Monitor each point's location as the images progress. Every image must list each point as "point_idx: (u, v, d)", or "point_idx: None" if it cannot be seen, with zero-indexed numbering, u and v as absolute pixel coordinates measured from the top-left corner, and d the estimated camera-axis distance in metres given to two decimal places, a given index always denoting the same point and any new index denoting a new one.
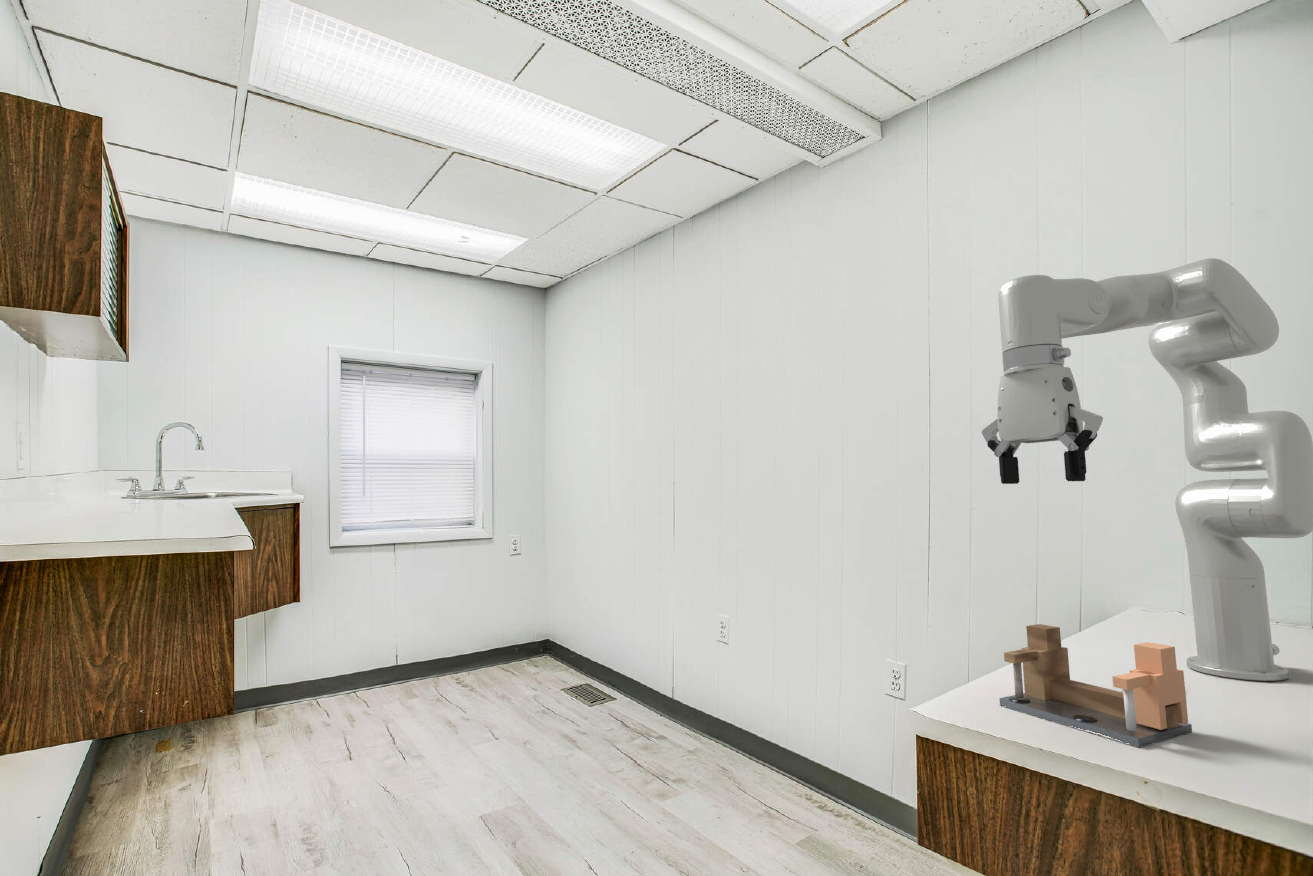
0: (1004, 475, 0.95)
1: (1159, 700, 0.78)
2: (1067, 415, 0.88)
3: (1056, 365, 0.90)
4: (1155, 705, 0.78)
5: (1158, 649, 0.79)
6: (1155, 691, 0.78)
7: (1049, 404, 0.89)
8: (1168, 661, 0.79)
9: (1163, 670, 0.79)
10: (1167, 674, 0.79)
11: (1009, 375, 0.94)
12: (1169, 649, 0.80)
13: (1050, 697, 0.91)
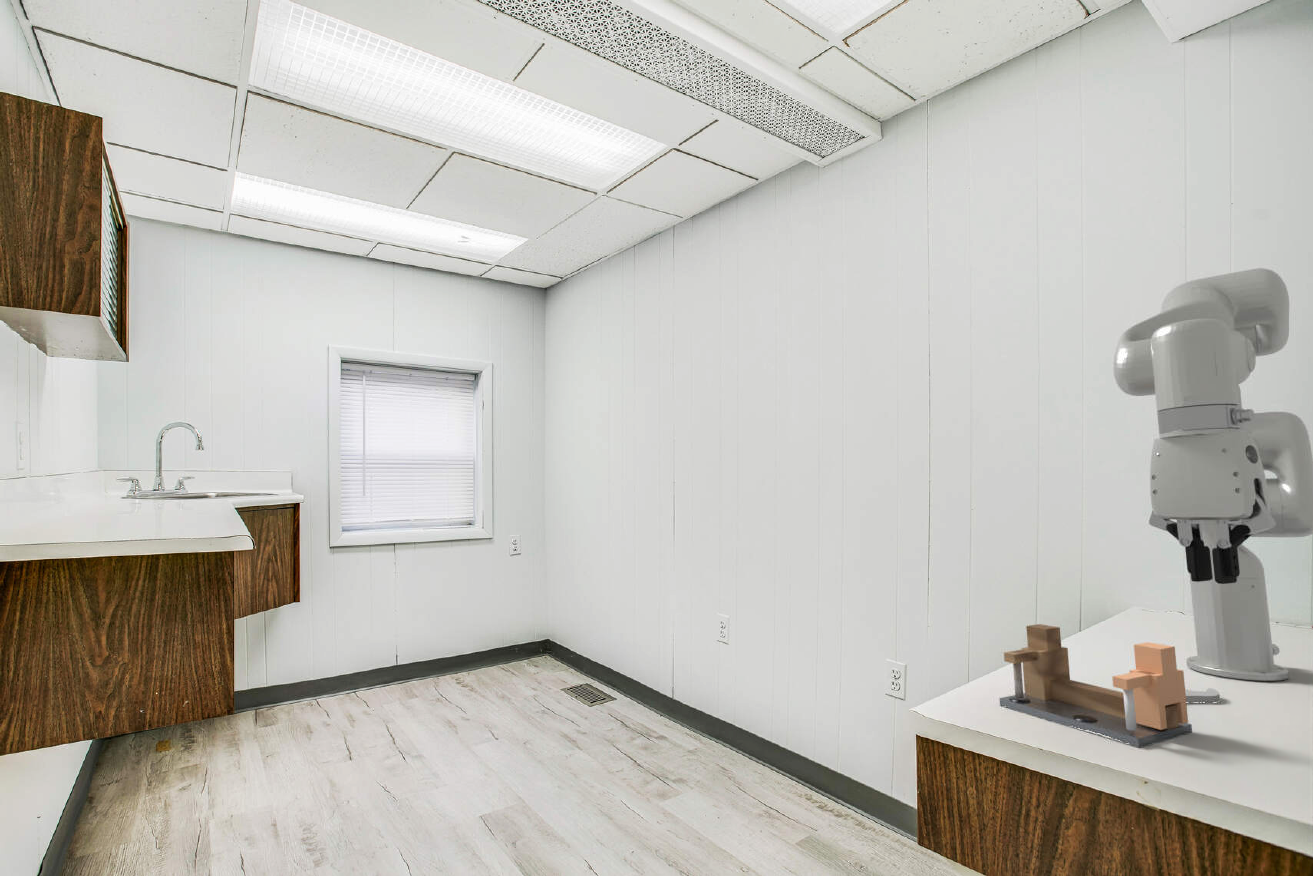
0: (1196, 571, 0.76)
1: (1159, 700, 0.78)
2: (1254, 493, 0.72)
3: (1235, 430, 0.74)
4: (1155, 705, 0.78)
5: (1158, 649, 0.79)
6: (1155, 691, 0.78)
7: (1229, 478, 0.73)
8: (1168, 661, 0.79)
9: (1163, 670, 0.79)
10: (1167, 674, 0.79)
11: (1168, 438, 0.78)
12: (1169, 649, 0.80)
13: (1050, 697, 0.91)
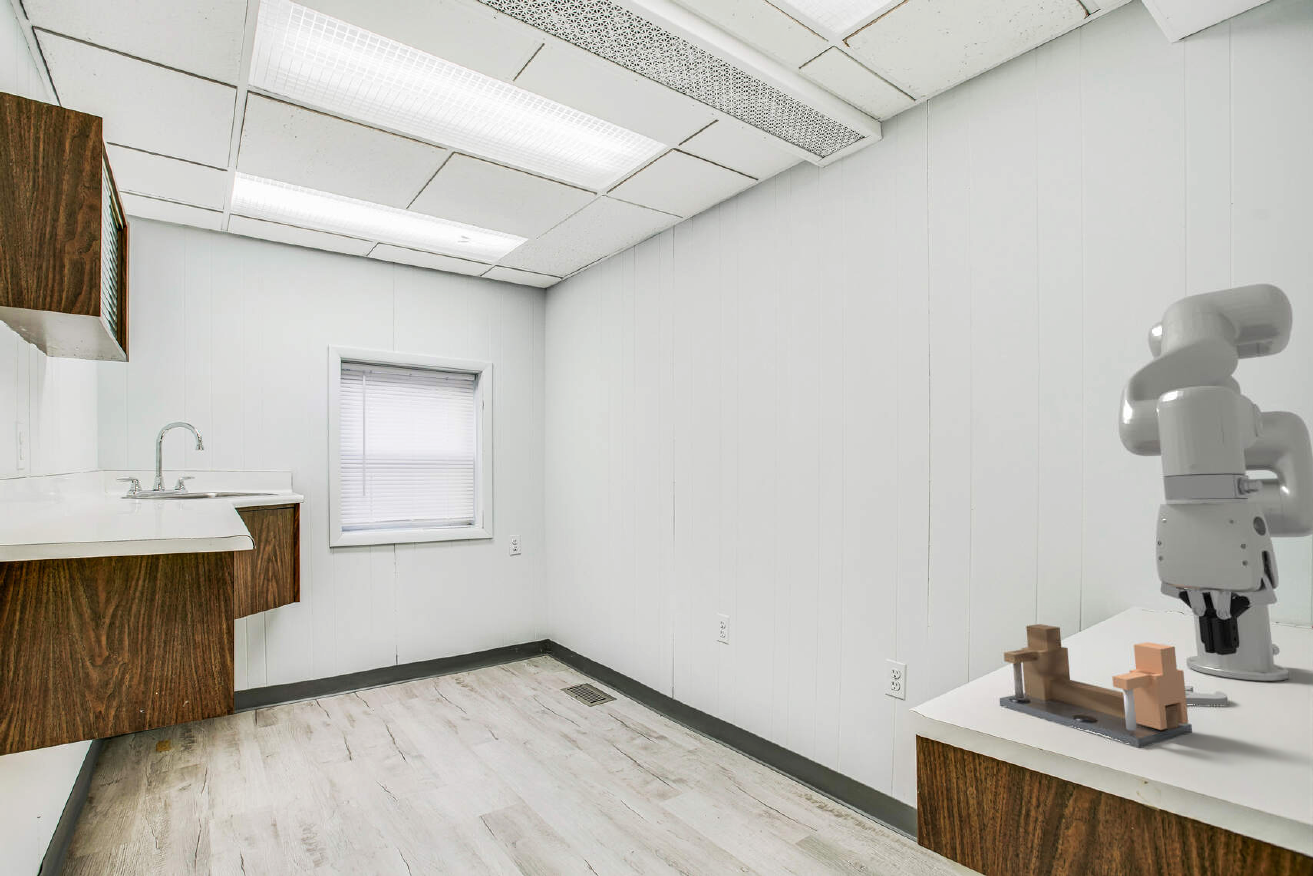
0: (1210, 643, 0.74)
1: (1159, 700, 0.78)
2: (1262, 566, 0.71)
3: (1242, 500, 0.73)
4: (1155, 705, 0.78)
5: (1158, 649, 0.79)
6: (1155, 691, 0.78)
7: (1237, 550, 0.72)
8: (1168, 661, 0.79)
9: (1163, 670, 0.79)
10: (1167, 674, 0.79)
11: (1175, 505, 0.77)
12: (1169, 649, 0.80)
13: (1050, 697, 0.91)
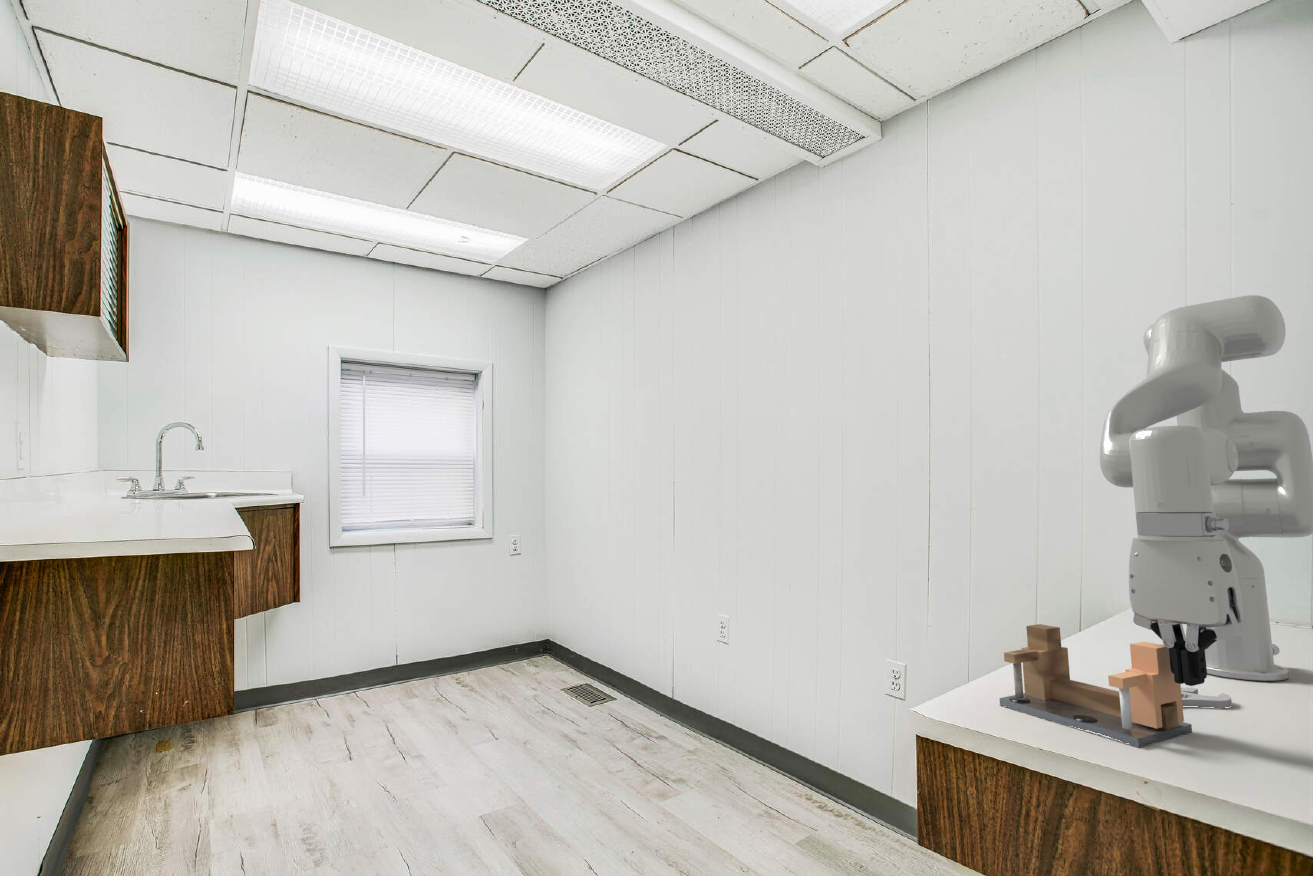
0: (1179, 674, 0.77)
1: (1155, 699, 0.78)
2: (1228, 602, 0.73)
3: (1210, 538, 0.76)
4: (1151, 704, 0.78)
5: (1154, 648, 0.80)
6: (1150, 690, 0.79)
7: (1204, 587, 0.75)
8: (1164, 660, 0.80)
9: (1158, 669, 0.79)
10: (1163, 673, 0.79)
11: (1146, 540, 0.80)
12: (1165, 649, 0.80)
13: (1050, 697, 0.91)
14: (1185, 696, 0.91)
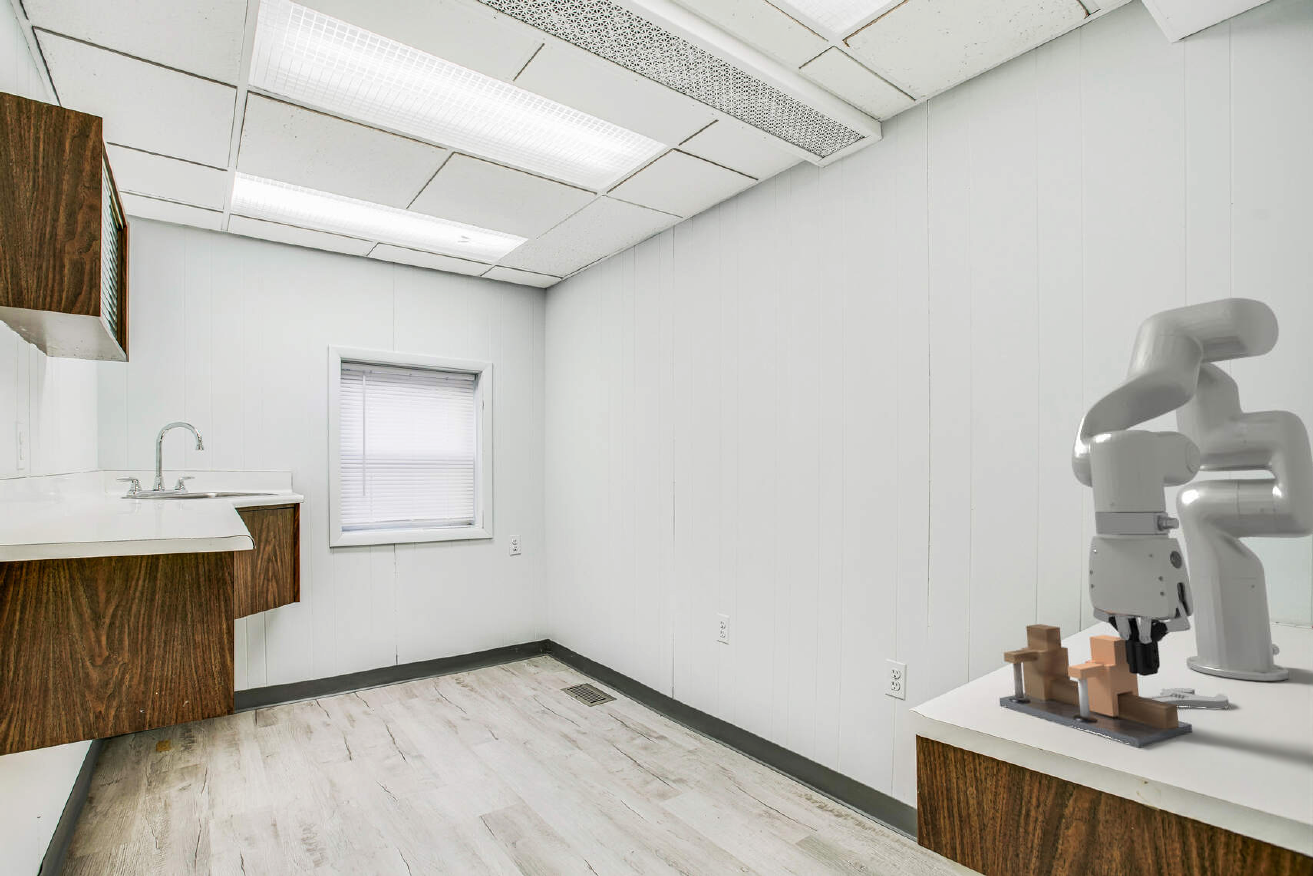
0: (1134, 664, 0.82)
1: (1111, 689, 0.83)
2: (1177, 597, 0.78)
3: (1162, 536, 0.80)
4: (1108, 693, 0.83)
5: (1111, 641, 0.84)
6: (1107, 680, 0.83)
7: (1155, 582, 0.79)
8: (1121, 652, 0.84)
9: (1115, 661, 0.84)
10: (1120, 665, 0.84)
11: (1104, 538, 0.84)
12: (1122, 641, 0.85)
13: (1050, 697, 0.91)
14: (1182, 696, 0.91)
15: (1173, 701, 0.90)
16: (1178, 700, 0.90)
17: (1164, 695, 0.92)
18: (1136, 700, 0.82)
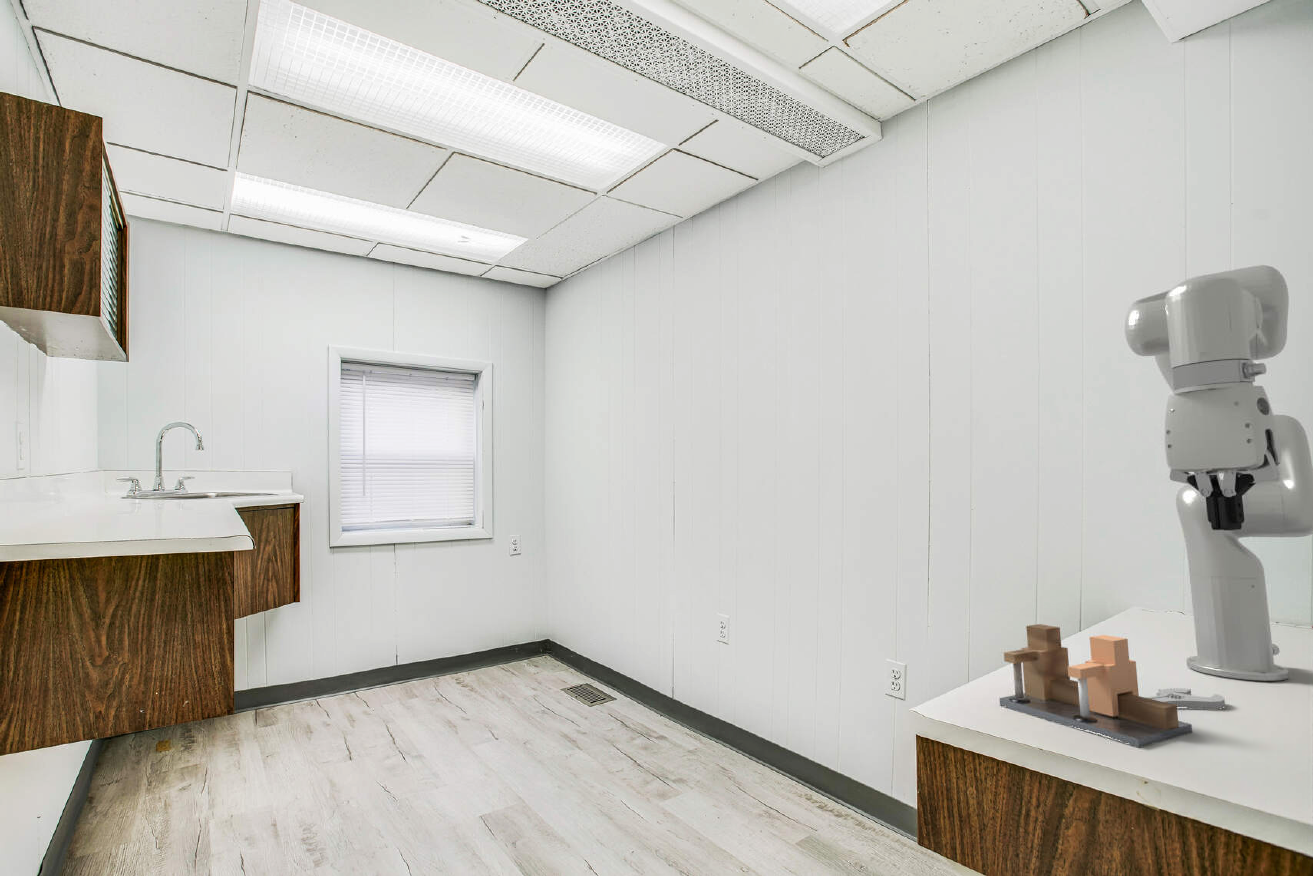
0: (1217, 520, 0.79)
1: (1111, 689, 0.83)
2: (1265, 443, 0.75)
3: (1247, 383, 0.77)
4: (1108, 693, 0.83)
5: (1111, 641, 0.84)
6: (1107, 680, 0.83)
7: (1241, 430, 0.76)
8: (1121, 652, 0.84)
9: (1115, 661, 0.84)
10: (1119, 665, 0.84)
11: (1182, 394, 0.81)
12: (1122, 641, 0.85)
13: (1050, 697, 0.91)
14: (1178, 697, 0.91)
15: (1169, 702, 0.89)
16: (1174, 701, 0.89)
17: (1160, 696, 0.91)
18: (1136, 700, 0.82)
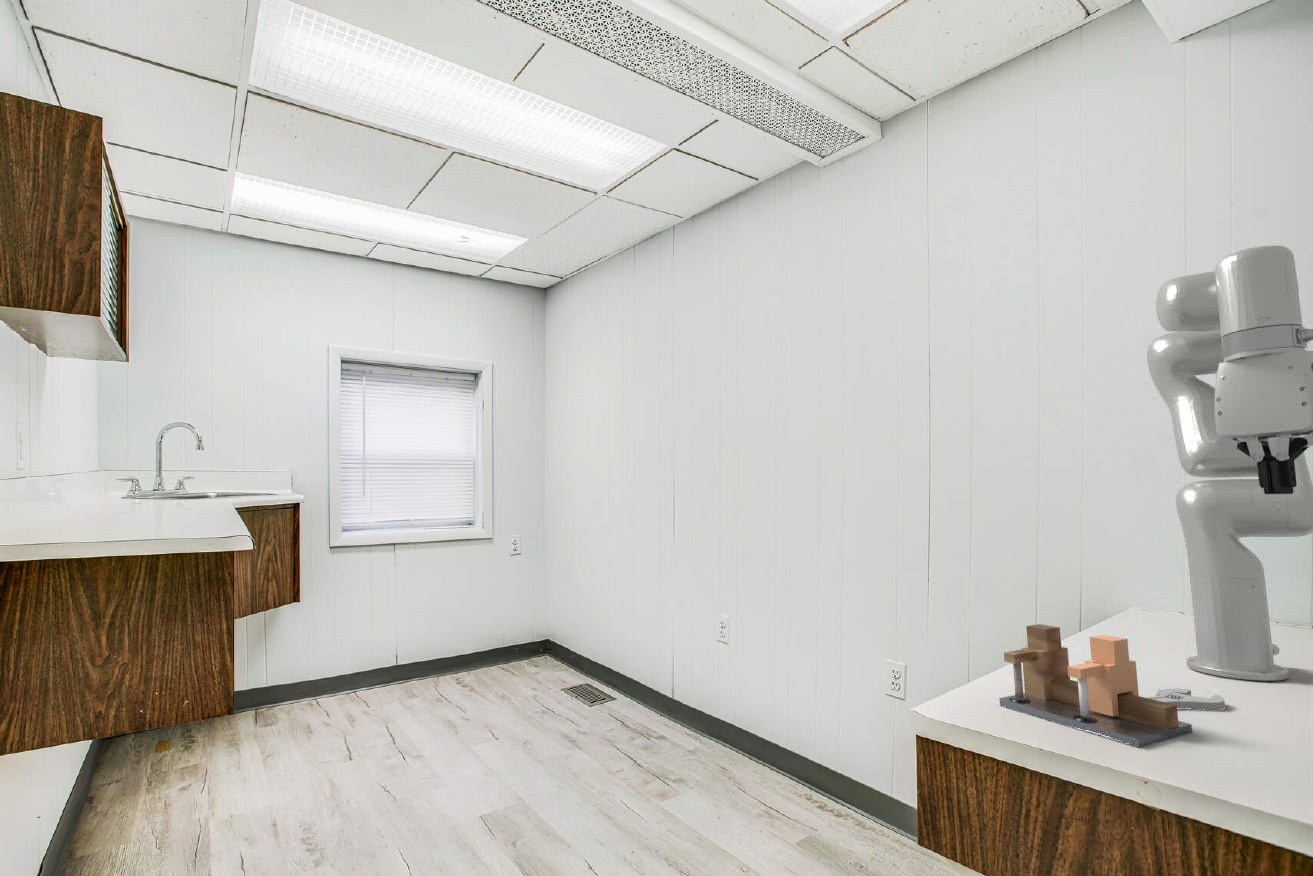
0: (1269, 484, 0.79)
1: (1111, 689, 0.83)
2: None
3: (1300, 349, 0.78)
4: (1108, 693, 0.83)
5: (1111, 641, 0.84)
6: (1107, 680, 0.83)
7: (1296, 393, 0.77)
8: (1121, 652, 0.84)
9: (1115, 661, 0.84)
10: (1119, 665, 0.84)
11: (1234, 361, 0.82)
12: (1122, 641, 0.85)
13: (1050, 697, 0.91)
14: (1178, 697, 0.91)
15: (1169, 702, 0.89)
16: (1174, 701, 0.89)
17: (1160, 696, 0.91)
18: (1136, 700, 0.82)
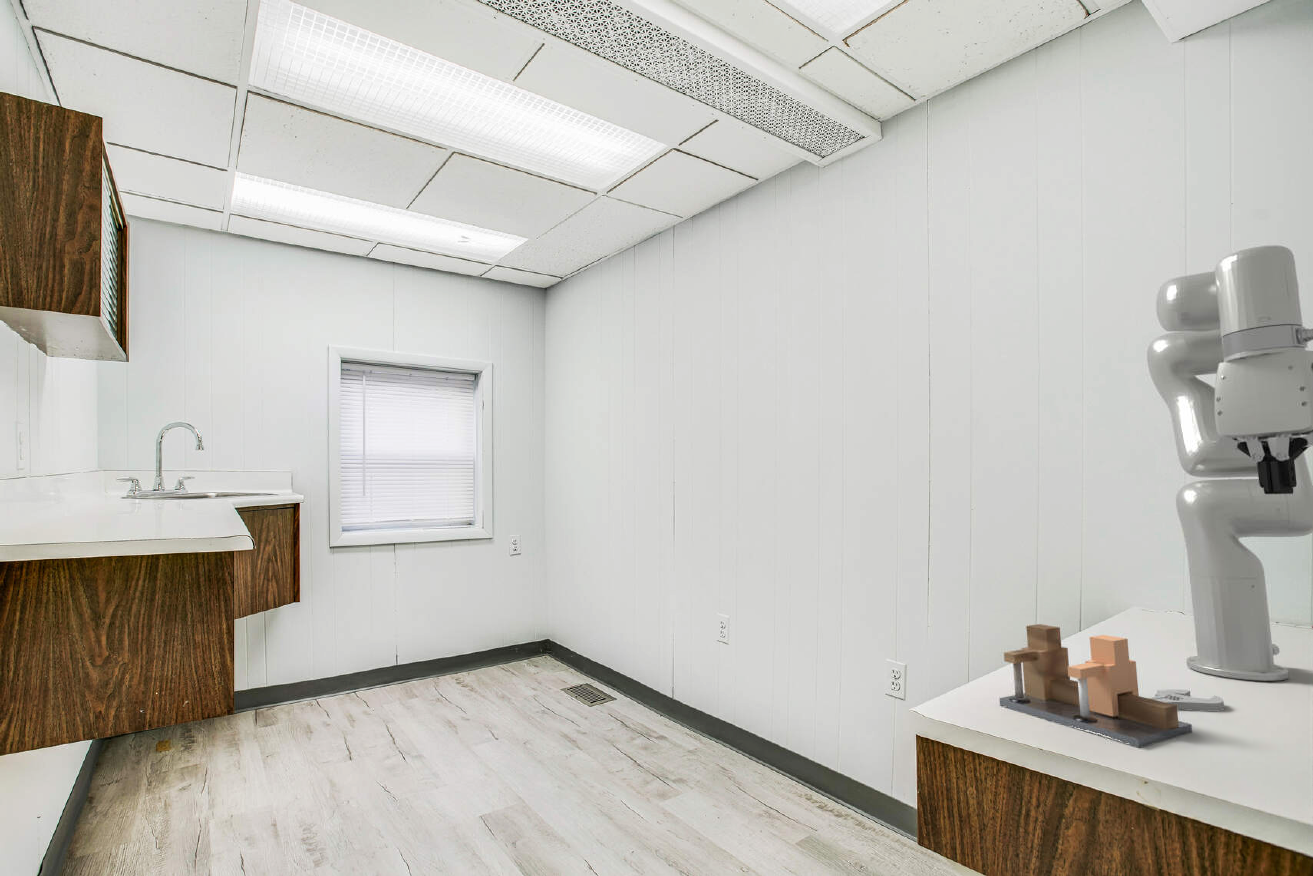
0: (1269, 484, 0.79)
1: (1111, 689, 0.83)
2: None
3: (1300, 349, 0.78)
4: (1108, 693, 0.83)
5: (1111, 641, 0.84)
6: (1107, 680, 0.83)
7: (1296, 393, 0.77)
8: (1121, 652, 0.84)
9: (1115, 661, 0.84)
10: (1119, 665, 0.84)
11: (1234, 361, 0.82)
12: (1122, 641, 0.85)
13: (1050, 697, 0.91)
14: (1177, 698, 0.90)
15: None
16: (1172, 702, 0.89)
17: (1159, 697, 0.91)
18: (1136, 700, 0.82)
